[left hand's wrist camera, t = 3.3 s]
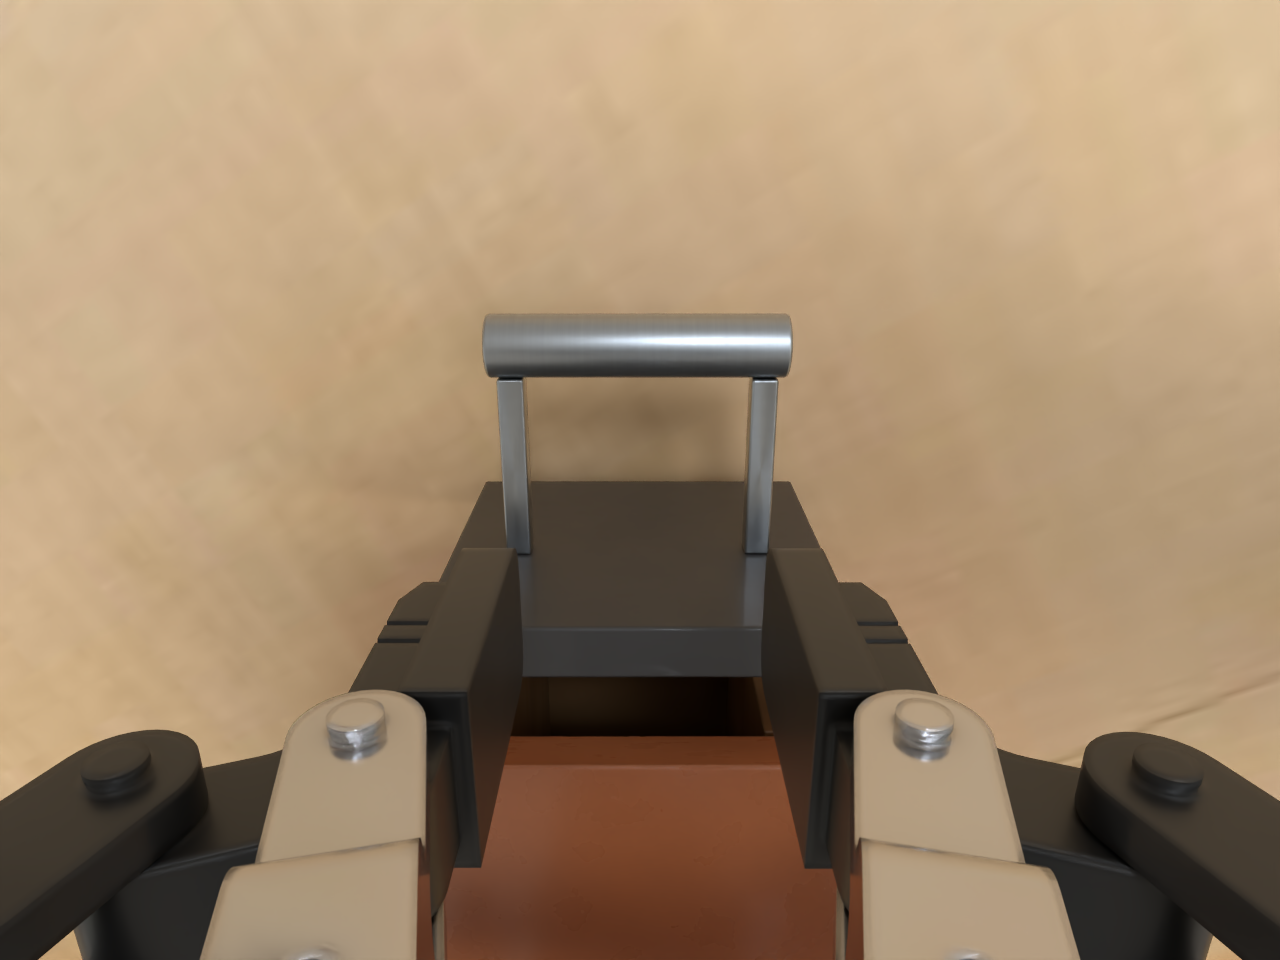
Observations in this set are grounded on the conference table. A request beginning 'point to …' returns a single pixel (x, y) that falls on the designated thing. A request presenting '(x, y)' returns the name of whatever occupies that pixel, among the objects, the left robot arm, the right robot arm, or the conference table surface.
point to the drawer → (639, 537)
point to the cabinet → (641, 856)
